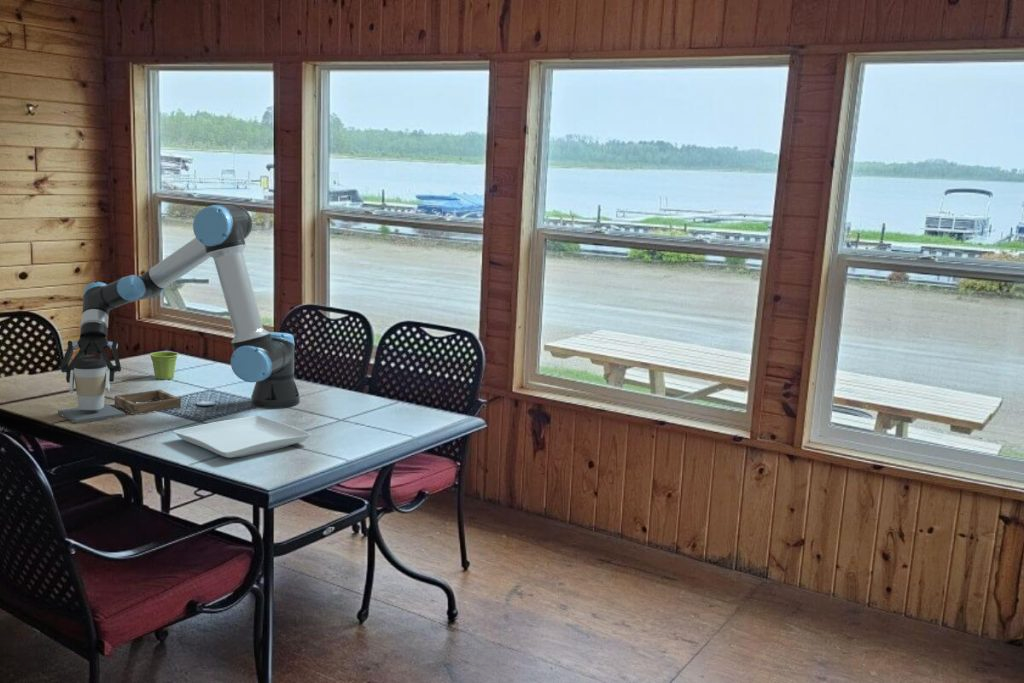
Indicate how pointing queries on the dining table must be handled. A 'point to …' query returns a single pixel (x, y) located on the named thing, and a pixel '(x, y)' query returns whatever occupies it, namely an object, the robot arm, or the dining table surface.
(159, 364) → the plant pot
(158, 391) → the brown wooden tray
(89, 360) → the coffee cup
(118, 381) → the dining table surface
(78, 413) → the rubber mat
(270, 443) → the square plate
